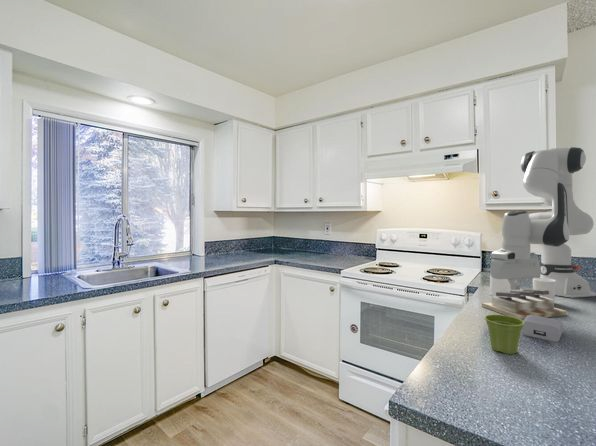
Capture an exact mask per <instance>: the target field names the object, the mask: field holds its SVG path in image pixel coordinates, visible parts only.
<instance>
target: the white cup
mask: <svg viewBox="0 0 596 446" xmlns="http://www.w3.org/2000/svg"><path fill="white" fill-rule="evenodd" d="M555 288H556V280H553V279H548V278H540V277H532V290H548V291H549V294H547V295H540V296H542V297H546V298H550V299H554V300H555V296H556V295H555ZM535 295H539V294H535Z"/></svg>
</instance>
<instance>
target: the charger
mask: <svg viewBox="0 0 596 446" xmlns="http://www.w3.org/2000/svg"><path fill="white" fill-rule="evenodd" d="M522 321H523V322H524V325H523V326H522V330H521V334H522V335H523V336H528V337H531V336H532V337H533V338H536V339H540V338H541V339H540V340H546V341H549V342H554V343H558V342H559V341H560V340H561V337H562V334H563V322H562V321H561V320H559V319H556V318H553V317H551V318H550V317H541V316H535V315H528V316H527V317H526V318H525V319H524V320H522Z"/></svg>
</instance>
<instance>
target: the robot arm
mask: <svg viewBox="0 0 596 446" xmlns="http://www.w3.org/2000/svg"><path fill="white" fill-rule="evenodd" d="M586 156H587V155H586V153H585V151H584V149H583V148H581V147H576V146H575V147H573V146H571V147H558V148H550V149H542V150H537V151H534V150H532V151H529V152H526V153H525V154H524V155H522V158H521V161H520V167H521V171H522V172H523V173H524V176H523V182H522V185H523V188H524V189H525V191H526V192H528V193H529V194H531V195H532V196H534V197H538V198H541V201H542V203H544V204H545V205H547V206H549V207H551V211H549V212H548V211H546V212H545V211H544V212H533V213H529V212H528V211H526V210H509V211H507V212H505V213H504V216H503V219H502V228H501V234H502V239H503V240H502V242H501V247H500V248H498V249H497V250H494V251H492V252H491V253H490V257H491V258H492V259H491V261H490V264H489V265H490V266H489V268H490V272H489V275H490V274H491V276H492V278H495V279H508V281H509V283H510V288H511V291H517V290H519V289H521V290H522V287H521V285H522V284H523V282H524V279H525V278H548V279H553V280H556V288H555V296H560V297H566V298H586V297H596V292H595V291H591V287H590V282H589V281H588V280H587V279H586V278H584V277H582V276H581V275H580V274H578V273H576V271H580V270H581V266H580V265H573V264H572V249H571V247H570V246H569V245H567V244H566V243H567V242H569V239H570V236H580V235H587V234H589V233H590V232H591V231H592V229H594V225H595V224H594V223H595V222H594V219H593V218H592V216H591V215H590V214H589V213H587V212H585V211H583V210H582V209H581V208H580V207H578V205H577V204H576V203H575V200H574V195H573V174H574V173H577V172H579V171H580V170H582V169H583V167H584V165H585V164H586V160H587V159H586V158H587V157H586ZM531 245H539V247H540V255H541V256H540V257H541V260H540V261H541V262H540V261H539V256H538V255H537V254H536V252H531ZM515 281H516V283H515Z"/></svg>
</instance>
